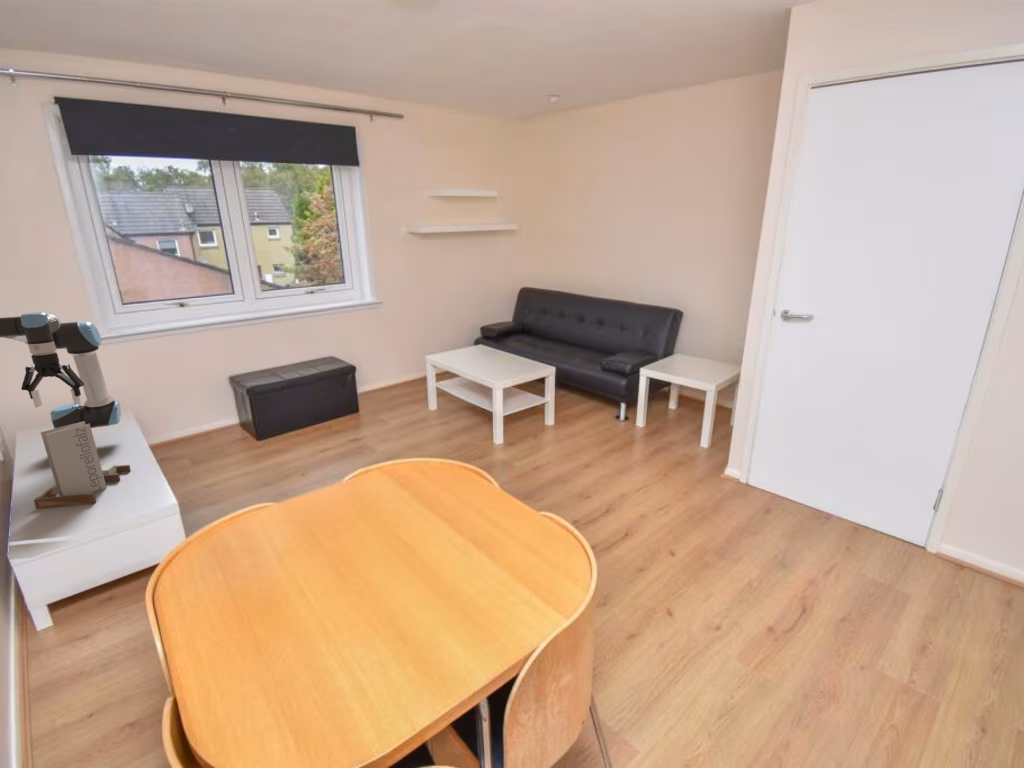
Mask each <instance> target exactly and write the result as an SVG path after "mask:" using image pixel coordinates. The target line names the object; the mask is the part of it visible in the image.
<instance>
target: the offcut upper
mask: <svg viewBox="0 0 1024 768" xmlns="http://www.w3.org/2000/svg"><path fill="white" fill-rule="evenodd" d="M116 466H117V464H109V465H108V464H107V465H101V468H102V472H103V475H105V474H113V473H115V472H116V471H117V469H116Z"/></svg>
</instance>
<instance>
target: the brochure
mask: <svg viewBox="0 0 1024 768" xmlns="http://www.w3.org/2000/svg"><path fill="white" fill-rule="evenodd" d="M40 435H41V439H42V441H43V445H44V448H45V451H46V455H47V459H48V462H49V466H50V470H51V473H52V476H53V479H54V482H55V485H56V486H57V490H58V493H59V494H58V496H70V495H81V494H91V493H92V494H93V493H94V492H95V493H97V492H100V491H102V489H103V490H105V489H107V488H108V487H107V484H106V483H105V480H104V476H103V472H102V468H101V466H102V464H101V462H100V458H99V455H98V450H97V447H96V445H95V444H96V441H95V439H94V434H93V431H92V428H91V427H90V424H86V425H85V421H83V422H79V423H75V424H71V425H67V426H63V427H59V428H55V429H54V428H51V429H47V430H44V431H40ZM94 441H95V442H94ZM95 493H94V494H95Z"/></svg>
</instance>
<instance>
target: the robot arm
mask: <svg viewBox="0 0 1024 768" xmlns="http://www.w3.org/2000/svg"><path fill="white" fill-rule="evenodd" d="M0 338H4V339H8V340H14V341H18V342H23V343H24V344H26V345H27V346H28V349H29V350H28V351H29V353H30V354H31V356H30V357H31V360H32V361H31V362H32V364H33V365H28V366H26V367H25V369H24V370H25V374H24V378H23V381H22V384H21V388H20V389H21V390H22V391H27V392H28V395H29V398H30V399H31V400H33V403H34V407H35V408H39V407H42V406H43V403H42V400H41V396H40V393H39V389H37V387H38V385H40V383H41V381H42V380H43V379H44V378H47V377H48V378H54V377H55V378H57V379H59V380H60V381H62V382H63V383H64V384H66V385H68V386H69V387H70V388H71V389H70V393H71V397H72V400H73V403H72V402H71V403H67V404H64V405H60V406H57V407H55V408H53V409H52V410H51V411H50V413H49V414H50V418H51V422H52V426H53V429H55V428H59V427H63V426H67V425H71V424H75V423H79V422H83V421H85V425H86V424H90V427H91V429H95V428H102V427H110V426H115V425H118V424H119V422H120V421H121V417H122V416H121V415H122V414H121V413H122V412H121V411H122V410H121V403H120V401H117V400H115V399H114V397H113V396H110V395H109V392H108V389H107V385H106V382H105V379H104V376H103V372H102V369H101V365H100V363H99V358H98V354H97V351H98V350H99V349H100V348H99V347H100V346H101V345H102V338H101V334H100V331H99V330H98V328H97V326H96V325H95V324H94V323H92V322H90V321H76V322H75V321H73V322H61V321H60V319H59V318H58V317H57V316H55V315H54V314H50V313H45V312H41V311H40V312H29V313H23V314H21V315H20V316H8V317H6V316H5V317H0ZM62 349H65V350H66V352H67V354H69V355H71V356H72V357H73V360H74V364H75V367H76V369H77V372H78V375H77V374H76V373H75V371H74V370H73V369H72V368H71V365H70V363H66V364H60V358H59V354H58V352H57V350H62ZM35 371H36V372H37V373H36V375H35V377H34V379H33V376H34V374H35ZM81 387H82V388H83V392H84V395H85V397H86V400H85V401H84V403H83V405H81V404H82V401H81V399H80V396H81V395H82V394H81V389H80V388H81ZM94 442H95V446H96V441H95V440H94Z"/></svg>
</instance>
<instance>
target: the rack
mask: <svg viewBox="0 0 1024 768" xmlns="http://www.w3.org/2000/svg"><path fill="white" fill-rule="evenodd" d="M116 469H117V474H105V475H103V476H104V480H105V483H117V482H121V477H120V476H121V475H120V473H130V472H131V471H132V470H131V465H130V464H123V465H116ZM57 494H58V495H57ZM33 503H34V506H35V509H36V510H40V509H50V508H51V509H52V508H60V507H71V506H72V507H74V506H83V505H84V506H85V505H93V504H94V505H95V504H96V503H97V499H96V496H95V493H92V494H81V495H70V496H59V493H58V490H57V486H56V484H55V485H53V486H52V487H50V488H49V489H47V490H45V491H44V492H43V493H41V494H40V495H38V497H36V498H34V499H33Z"/></svg>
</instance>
